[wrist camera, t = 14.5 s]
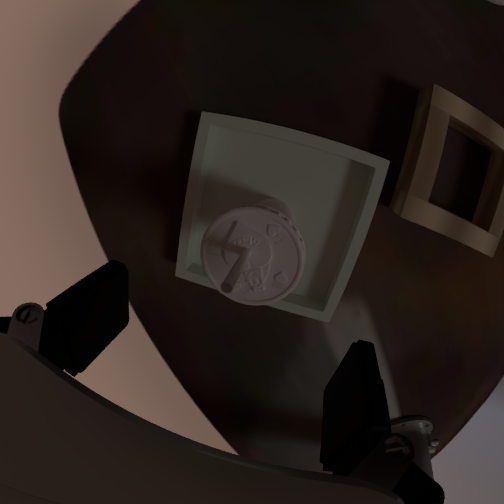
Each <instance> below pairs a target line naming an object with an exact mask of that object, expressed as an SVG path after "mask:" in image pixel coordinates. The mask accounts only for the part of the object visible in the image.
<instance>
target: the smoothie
mask: <svg viewBox="0 0 504 504" xmlns="http://www.w3.org/2000/svg"><path fill="white" fill-rule="evenodd" d="M200 256H201V262H202V266H203V269H204V272H205V274H206V276H207V277H208V279H209V281H210V282H211V283H212V284H213V286H214V287H215V288H216V289H217V290H218V291H219V292H221V293H222V294H223V295H225V296H226V297H228V298H230V299H232V300H234V301H236V302H239V303H243V304H247V305H266V304H271V303H274V302H276V301H279V300H281V299H283V298H284V297H286V296H287V295H288V294H289V293H291V292H292V291H293V290H294V288H295V287H296V286H297V284H298V283H299V281H300V279H301V276H302V274H303V270H304V265H305V260H306V251H305V243H304V241H303V238H302V236H301V233H300V231H299V229H298V228H297V227H296V225H295V224H294V221H293V217H292V214H291V211H290V209H289V207H288V206H287V205H286V204H285V203H284V202H282V201H280V200H277V199H265V200H263V201H260V202H257V203H247V204H239V205H236V206H233V207H231V208H229V209H226V210H225V211H223V212H222V213H221V214H220V215H219V216H217V217H216V218H215V219H214V221H213V222H212V223H211V224H210V225H209V226H208V228H207V229H206V231H205V233H204V236H203V238H202V242H201V249H200Z"/></svg>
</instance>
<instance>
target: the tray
mask: <svg viewBox="0 0 504 504" xmlns="http://www.w3.org/2000/svg"><path fill="white" fill-rule="evenodd" d="M389 163H390V161H389V160H386V159H384V158H381V157H379V156H376V155H373V154H371V153H368V152H365V151H362V150H359V149H357V148H354V147H351V146H348V145H345V144H342V143H339V142H335V141H332V140H329V139H326V138H322V137H319V136H316V135H312V134H309V133H305V132H301V131H297V130H294V129H290V128H286V127H282V126H277V125H273V124H269V123H264V122H259V121H255V120H250V119H245V118H239V117H234V116H228V115H222V114H216V113H209V112H202V114H201V118H200V123H199V127H198V132H197V137H196V142H195V147H194V152H193V157H192V162H191V168H190V173H189V179H188V185H187V191H186V197H185V204H184V210H183V217H182V224H181V232H180V240H179V248H178V256H177V265H176V275H175V276H177V277H180V278H183V279H186V280H189V281H192V282H195V283H198V284H201V285H204V286H207V287H210V288H213V289H216V288H215V287H214V286H213V284H212V283H211V282H210V281H209V279H208V277H207V276H206V274H205V272H204V269H203V266H202V262H201V256H200V249H201V242H202V238H203V236H204V233H205V231H206V229H207V228H208V226H209V225H210V224H211V223H212V222H213V221H214V219H215V218H216V217H217V216H219V215H220V214H221V213H222V212H223V211H225V210H226V209H229V208H231V207H233V206H236V205H239V204H247V203H257V202H260V201H263V200H265V199H277V200H280V201H282V202H284V203H285V204H286V205H287V206H288V207H289V209H290V211H291V214H292V217H293V221H294V224H295V225H296V227H297V228H298V229H299V231H300V233H301V236H302V238H303V241H304V243H305V251H306V260H305V265H304V270H303V274H302V276H301V279H300V281H299V283H298V284H297V286H296V287H295V288H294V290H293V291H292V292H291V293H289V294H288V295H287V296H286V297H284V298H283V299H281V300H279V301H276V302H274V303H271V304H266V305H268V306H271V307H274V308H278V309H281V310H285V311H288V312H292V313H295V314H299V315H302V316H306V317H310V318H313V319H317V320H321V321H324V322H328V323H329V322H330V320H331V318H332V316H333V313H334V311H335V309H336V307H337V305H338V303H339V300H340V298H341V296H342V294H343V291H344V289H345V287H346V284H347V282H348V280H349V277H350V275H351V272H352V270H353V268H354V265H355V263H356V260H357V258H358V255H359V253H360V250H361V247H362V245H363V242H364V239H365V237H366V234H367V231H368V229H369V226H370V223H371V220H372V217H373V214H374V211H375V208H376V206H377V202H378V199H379V196H380V193H381V190H382V187H383V184H384V180H385V177H386V174H387V170H388V167H389ZM216 290H217V289H216Z"/></svg>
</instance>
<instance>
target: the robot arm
mask: <svg viewBox="0 0 504 504" xmlns="http://www.w3.org/2000/svg"><path fill="white" fill-rule="evenodd" d="M46 307H47V309H46V310H43V307H41V306H40V305H39V304H37V303H25V304H22V305H20V306H18V307H17V308H16V309H15V311H14V313H13V315H12V317H0V504H443V503H444V499H445V497H444V491H443V489H442V487H441V486H440V485H439V484H438V483H437V482H435V481H434V478H433V471H432V465H431V459H430V453H434V452H435V450H436V446H437V445H438V444H439V440H438V439H433V440H431V439H430V433H431V431H432V429H433V425H432V422H431V420H430V419H428V418H426V417H421V416H415V417H408V418H403V419H400V420H396V421H394V422H391V423H390V417H389V411H388V405H387V399H386V393H385V388H384V383H383V380H382V379H381V376H380V371H379V367H378V362H377V357H376V353H375V348H374V344H373V343H371V342H367V341H363V340H358V341H357V343H355V342H353V343H352V345H351V346H350V348H349V350H348V351H347V353H346V355H345V356H344V358H343V360H342V362H341V363H340V365H339V366H338V368H337V370H336V371H335V373H334V375H333V376H332V378H331V379H330V381H329V382H328V384H327V385H326V387H325V390H324V398H323V421H322V437H321V451H320V463H323V471H331V472H333V475H332V474H326V473H319V472H312V471H306V470H300V469H295V468H289V467H284V466H280V465H275V464H270V463H266V462H262V461H258V460H254V459H250V458H246V457H242V456H239V455H235V454H232V453H228V452H225V451H222V450H219V449H216V448H213V447H210V446H207V445H204V444H201V443H199V442H196V441H193V440H191V439H188V438H186V437H183V436H181V435H178V434H176V433H173V432H171V431H169V430H166V429H164V428H162V427H160V426H157V425H155V424H153V423H151V422H149V421H147V420H145V419H143V418H141V417H139V416H137V415H135V414H133V413H131V412H129V411H127V410H125V409H123V408H122V407H120V406H118V405H116V404H114V403H113V402H111V401H109V400H107V399H106V398H104V397H102V396H101V395H99V394H97V393H96V392H94V391H92V390H91V389H89V388H88V387H86V386H85V385H83V384H82V383H80V382H79V381H77V380H76V379H74V378H72V377H71V376H70V375H68V374H67V373H65V372H64V371H63V370H64V369H65V371H66V372H68V373H69V374H71V375H72V376H74V377H75V376H76V375H77V374H78V373H81V372H83V371H84V370H85V369H86V368H87V367H88V366H89V365H90V364H91V363H92V362H93V360H94V359H95V358H96V357H97V356H98V355H99V354H100V353H101V352H102V351H103V350H104V349H105V348H106V347H107V346H108V345H109V344H110V343H111V341H112V340H114V339H115V338H116V336H117V335H118V334H119V333H120V332H121V331H122V330H123V329H124V328H125V327H126V326H127V324H128V322H129V299H128V269H126V266H125V264H123V263H121V262H118V261H116V260H111V261H109V262H108V263H106V264H105V265H103V266H101V267H100V268H98V269H97V270H95V271H94V272H92V273H91V274H89V275H87V276H86V277H84V278H83V279H81V280H80V281H78V282H77V283H75V284H74V285H73V286H71V287H69V288H68V289H67V290H65V291H64V292H62V293H61V294H59V295H58V296H56V297H55V298H54V299H52V300H51V301H49V302H48V303H46Z"/></svg>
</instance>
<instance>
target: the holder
mask: <svg viewBox="0 0 504 504" xmlns="http://www.w3.org/2000/svg"><path fill="white" fill-rule="evenodd" d="M448 126H450V127H452V128H454V129H455V130H457V131H459V132H460V133H462V134H464V135H465V136H467V137H469V138H470V139H472V140H473V141H475V142H477V143H478V144H480V145H481V146H483V147H484V148H486V149H487V150H488V151H490V152H491V155H490V160H489V164H488V168H487V172H486V176H485V180H484V184H483V188H482V191H481V195H480V198H479V201H478V204H477V207H476V211H475V214H474V216H473V219H472V222H470V221H468V220H466V219H464V218H462V217H460V216H458V215H456V214H454V213H452V212H450V211H448V210H446V209H444V208H442V207H439V206H437V205H435V204H433V203H431V202H429V201H428V199H429V196H430V193H431V190H432V187H433V184H434V180H435V177H436V173H437V170H438V166H439V162H440V158H441V154H442V150H443V146H444V142H445V137H446V133H447V128H448ZM389 208H390V209H391V210H392V211H394V212H395V213H396V214H397V215H399V216H400V217H402V218H404V219H407V220H410V221H412V222H415V223H417V224H420V225H422V226H424V227H427V228H429V229H432V230H434V231H436V232H439V233H441V234H443V235H446V236H448V237H450V238H452V239H455V240H457V241H459V242H461V243H463V244H466V245H468V246H470V247H472V248H474V249H476V250H478V251H480V252H482V253H484V254H486V255H488V256H490V257H492V258H493V256H494V253H495V251H496V248H497V246H498V243H499V241H500V238H501V235H502V233H503V230H504V129H503V128H502V127H501V126H500V125H498V124H497V123H496V122H494V121H493V120H492V119H490V118H489V117H487V116H486V115H485V114H483V113H482V112H480V111H479V110H477V109H476V108H474V107H473V106H471V105H470V104H468V103H467V102H465V101H463V100H462V99H460V98H459V97H457V96H455V95H454V94H452V93H450V92H448V91H447V90H445V89H443V88H441V87H439V86H438V85H436V84H432V85H430V86H428V87H425V88H423V89H421V90H419V94H418V99H417V104H416V109H415V114H414V119H413V123H412V128H411V132H410V136H409V140H408V144H407V148H406V152H405V156H404V160H403V163H402V167H401V170H400V174H399V177H398V180H397V184H396V187H395V190H394V193H393V196H392V199H391V202H390V205H389Z"/></svg>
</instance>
